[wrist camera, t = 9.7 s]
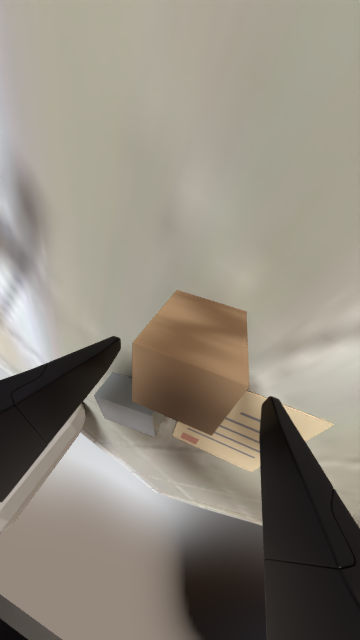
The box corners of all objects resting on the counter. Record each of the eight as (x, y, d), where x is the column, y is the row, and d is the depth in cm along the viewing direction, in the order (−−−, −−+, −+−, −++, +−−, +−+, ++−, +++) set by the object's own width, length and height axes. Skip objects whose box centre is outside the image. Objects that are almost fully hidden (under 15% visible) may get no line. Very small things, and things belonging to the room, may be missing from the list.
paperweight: (165, 386, 19) (152, 416, 16) (166, 409, 22) (155, 437, 19) (113, 370, 21) (93, 395, 18) (120, 393, 24) (104, 418, 21)
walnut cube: (246, 311, 11) (249, 386, 6) (222, 359, 14) (211, 435, 9) (177, 289, 12) (132, 342, 7) (167, 339, 15) (131, 401, 10)
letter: (333, 423, 14) (333, 425, 14) (251, 471, 23) (251, 472, 23) (197, 371, 16) (197, 372, 16) (172, 435, 25) (172, 436, 25)
